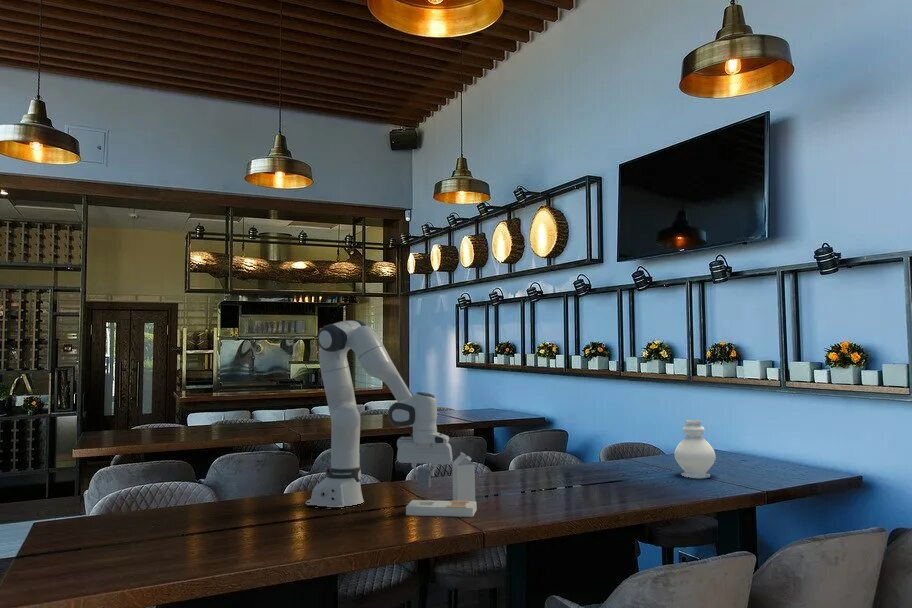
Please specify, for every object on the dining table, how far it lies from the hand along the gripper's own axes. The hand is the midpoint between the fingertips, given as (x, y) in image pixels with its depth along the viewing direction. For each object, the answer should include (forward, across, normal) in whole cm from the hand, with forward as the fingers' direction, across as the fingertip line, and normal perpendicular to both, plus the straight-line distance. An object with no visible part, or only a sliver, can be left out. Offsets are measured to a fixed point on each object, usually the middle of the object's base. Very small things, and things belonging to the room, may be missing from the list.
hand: (424, 475), depth 240 cm
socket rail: (+14, +7, 0) cm, 15 cm away
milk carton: (+14, +12, +20) cm, 27 cm away
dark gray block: (+4, 0, 0) cm, 4 cm away
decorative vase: (+11, +110, +82) cm, 138 cm away
